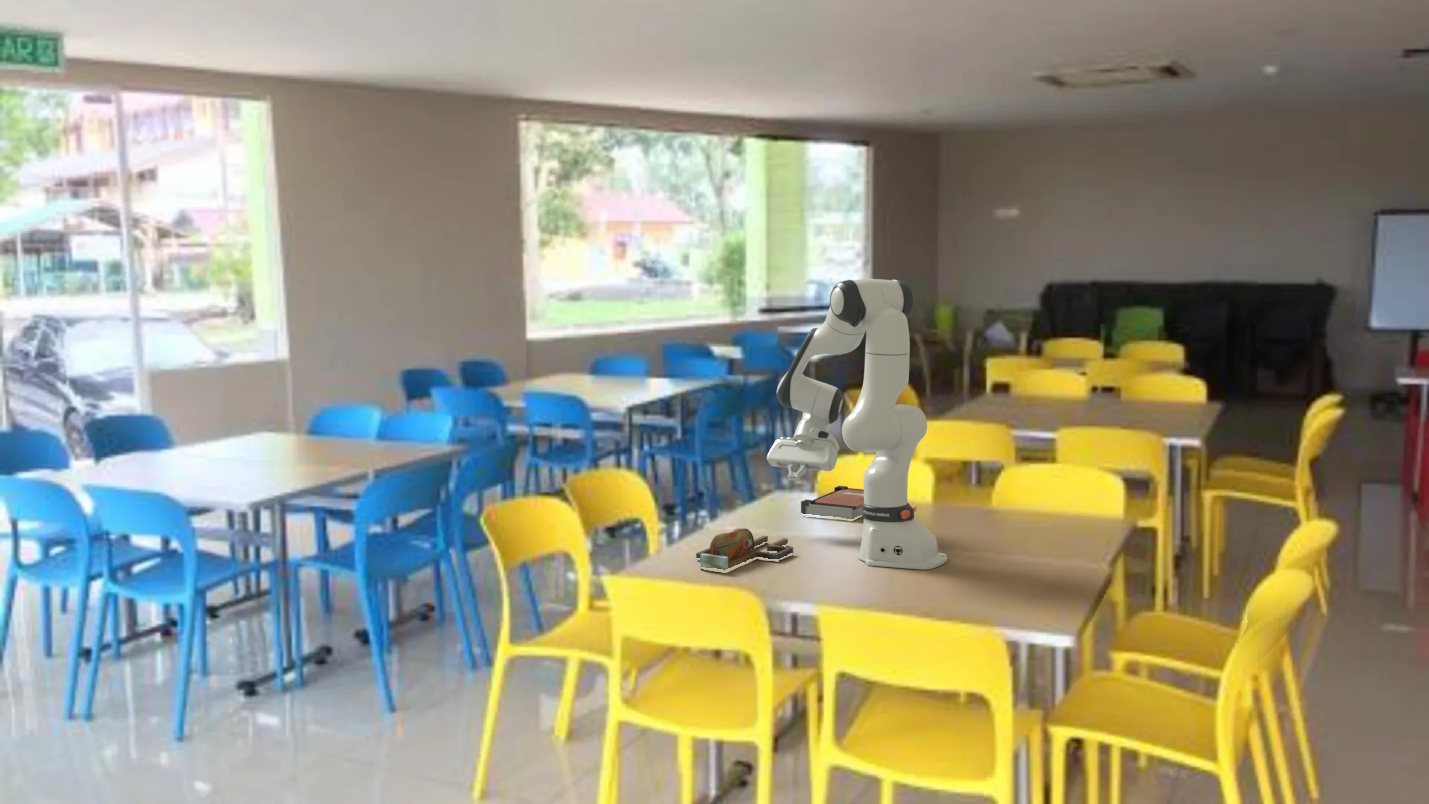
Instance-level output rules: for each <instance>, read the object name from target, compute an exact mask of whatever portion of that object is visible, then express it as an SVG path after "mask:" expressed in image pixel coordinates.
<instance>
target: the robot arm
mask: <svg viewBox="0 0 1429 804" xmlns="http://www.w3.org/2000/svg"><path fill="white" fill-rule="evenodd" d="M914 303H915V296H914V292H913V290H912V287H911V285H909V284H908V283H907V282H906V281H903V280H899V279H891V280H890V279H878V278H877V279H875V278H871V277H870V278H860V279H855V280H852V279H846V280H843V281H839V282H837V283H835V285H834V286H833V288H832V290H831V291H830V298H829V305H830V306H829V308H828V311H827V314H826V318H825V319H824V322H823V323H822V324H821V325H820V326H818V327H813V328H812V329H810V330H809V332H808V333H807V335H806V336H805V338H804V341H803V342H802V343H801V345H800V346H799V348H798V350H797V353H796V354H795V356H794V358H793V360H792V362H791V364H790V367H789V368H788V370H787V371H786V373H785V374H784V376H782V378H781V380H780V381H779V383H778V385H777V389H776V398H777V401H778V402H779V403H780V404H781V407H784V408H788V409H792V410H797V411H799V412H802V418H801V420H800V421H799V422H798V424H797V427H796V429H795V432H794V434H793V435H792V437H786V436H782V437H780V438H777V439H775V440H774V442H773V444H772V446H771V448H770V449H769V451H768V453H767V455H766V460H767V462H768V464H769V465H770V466H771V467H775V468H787V469H788V475H787V480H789V481H795V482H796V481H797V482H799V481H800V480H801V477H802V476H804V475H805V474H806V473H807V472H808V470H811V471H812V470H813V471H824V472H831V471H832V470H834V469H835V467H836V464H837V461H838V457H839V455H838V454H839V453H838V452H839V450H840V445H839V443H838V441H837V439H836V437H835V436H834V434H832V433H831V432H829V429H830V427H831V426H832V424H834V423H835V422H837V421H838V418H839V416H840V413H841V411H842V409H843V406H844V403H845V398H844V396H843V394H842V393H843V392H842V391H841V389H840V388H839V387H837V386H834V385H831V384H829V383H826V382H822V381H819V380H817V379H814V378H811V377H808V376H805V375H804V374H803V373H804V371H805V370H806V367H807V365H808V363H809V362H810V360H811V358H813V357H816V356H819V355H833V356H834V355H835V356H836V355H838V356H839V355H844V354H845V355H846V354H849V353H850V352H853V351H854V350H856V349H857V348H859V346H860V345H861V342H862V341H863V339H864V335H865V334H866V337H865V338H866V339H865V349H864V350H865V351H864V353H865V354H864V373H863V382H862V383H863V384H862V387H861V392H860V393H859V396H858V399H857V401H856V404H855V406H854V408H853V409H852V411H851V412H850V413H849V415H848V416H847V417H845V419H844V421H843V423H842V426H841V435H842V439H843V442H844V443H845V445H846V446H847V448H848V449H850V450H851V451H852V452H855V453H856V452H857V453H864V454H865V453H866V454H872V453H874V454H875V455H874V458H873V460H872V462H871V463H870V464H869V465H868V466H867V467H866V469H865V470H864V473H863V489H864V502H863V503H862V518H861V519H862V520H861V521H862V524H863V525H862V536H861V543H860V546H859V552H858V555H857V558H858V559H859V560H861V561H863V562H864V563H865V564H866V565H867V566H869V567H870V566H873V567H882V568H883V567H886V568H899V569H912V570H931V569H935V568H937V567H940V566H942V565H944V564H946V562H947V561H948V556H947V554H946V553H943V552H939V546H938V540H937V537H936V535H935V534H934V533H932V532H931V531H930V530H929V529H927V528H926V527H925V526H924V525H923V524H922V523H920V522H919V520H917V519H916V518H915V512H917V511H918V510H917V507H918V506H914V507H913V506H912V505H911V504H910V503H909V501H908V488H909V487H908V485H909V483H908V482H909V471H910V467H911V462H912V459H913V457H914V454H915V451H916V448H917V447H918V445H919V443H920V442H921V441H922V439H923V438H924V437H925V436H926V434H927V431H928V421H927V417H926V415H925V413H924V411H923V410H922V409H921V408H919V407H918V406H915V405H909V404H902V403H899V404H897V401H898V399H899V397H900V395H901V394H902V392H903V391H904V390H905V389H906V388H907V386H908V384H909V378H910V377H909V376H910V355H911V354H910V353H911V351H910V350H911V347H910V343H911V340H910V330H909V324H908V319H907V317H909V316H910V314H911V313H912V312H913V311H912V310H913V308H914ZM796 469H798V470H797V471H796ZM795 471H796V472H795Z"/></svg>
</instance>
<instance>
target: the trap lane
mask: <svg viewBox="0 0 1429 804" xmlns="http://www.w3.org/2000/svg"><path fill="white" fill-rule="evenodd" d="M767 541H768V542H769V536H768V535H762V536H759V537H758V538H756V539H755V538H754V547H755V546H757V545H760V544H762V543H763V542H767ZM787 543H788V544H789V539H788V538H785V537H784V538H781V539H779V540H777V541H774V542H772V543H768V545H767V544H766V551H759V550H753V552H751V553H749V554H746V555H744V556H742V557H739V558H737V559H735V560H733V561H730V562H728V557H725V556H718V555H710V547H708V548H705V549H703V550H701V551H698V552H695V557H696V558H700V561H699V562H700V568H701V567H705V568H717V569H723V570H726V569H728V568H731V567H733V566H735V565H738V564H740V563H742V562H746V561H747V560H749V559H753V558H755V557H763V558H768V559H780V558H782V557H784V556H787V555H788V554H790V553H793V554H794V547H792V546H791V547H790V546H787V547H784V546H782V545H786V544H787ZM767 551H777V553H769V552H767Z"/></svg>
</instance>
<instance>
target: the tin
mask: <svg viewBox="0 0 1429 804" xmlns="http://www.w3.org/2000/svg"><path fill="white" fill-rule="evenodd" d="M754 540H755V538H754V535H753V533H752V532H751V530H749V528H740V527H739V528H734V529H731V530H728V531H725V532H722V533H719V534H716V535H715V536H714V537H713V538H712V540H711V542H710V545H709V548H710V555H718V556H725V557H728V562H730V561H733V560H735V559H737V558H739V557H742V556H744V555H746V554H749V553H751V552H753V551H754V550H755V549H754ZM753 549H754V550H753Z"/></svg>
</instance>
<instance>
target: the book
mask: <svg viewBox="0 0 1429 804" xmlns="http://www.w3.org/2000/svg"><path fill="white" fill-rule="evenodd" d="M833 490H834V491H831V492H829V493H826V494H824V495H821V496H819V497H816V498H814V499H804V500H801V501H800V514H801V513H803V514H812V515H820V516H833V517H841V518H846V519H854V518H855V517H857V516H860V515H862V503H863V502H864V488H862V489H861V488H853V487H851V488H850V487H849V486H848V485H847V486H845V485H838V486H835V487H833Z"/></svg>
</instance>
